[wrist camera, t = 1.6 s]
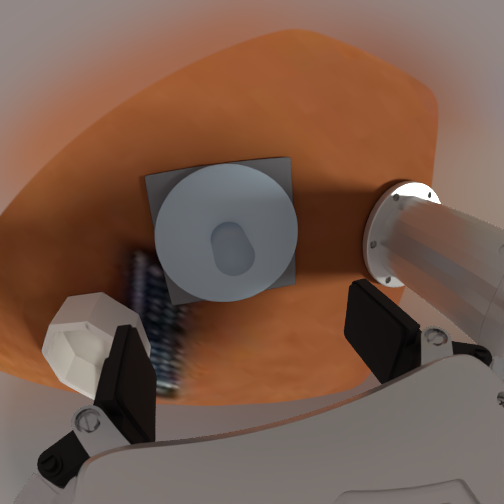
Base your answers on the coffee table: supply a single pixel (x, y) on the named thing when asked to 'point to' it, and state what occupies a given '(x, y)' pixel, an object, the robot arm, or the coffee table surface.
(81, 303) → the dish
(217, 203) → the lid
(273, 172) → the mat
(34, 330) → the coffee table surface
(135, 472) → the robot arm
